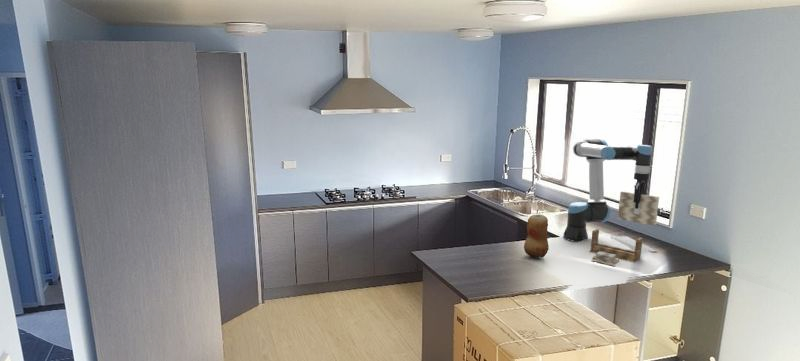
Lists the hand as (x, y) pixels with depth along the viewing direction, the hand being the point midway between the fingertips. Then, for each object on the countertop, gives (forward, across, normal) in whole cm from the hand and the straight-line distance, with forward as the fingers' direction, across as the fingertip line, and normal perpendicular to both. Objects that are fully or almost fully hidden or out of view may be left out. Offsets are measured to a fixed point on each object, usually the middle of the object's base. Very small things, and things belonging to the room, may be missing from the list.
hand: (637, 213), depth 289 cm
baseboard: (+27, +27, +8) cm, 39 cm away
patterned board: (+5, 0, 0) cm, 5 cm away
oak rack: (+27, -6, +8) cm, 28 cm away
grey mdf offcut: (+24, -20, +8) cm, 33 cm away
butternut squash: (+27, -41, +40) cm, 63 cm away
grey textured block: (+27, -20, +8) cm, 35 cm away
